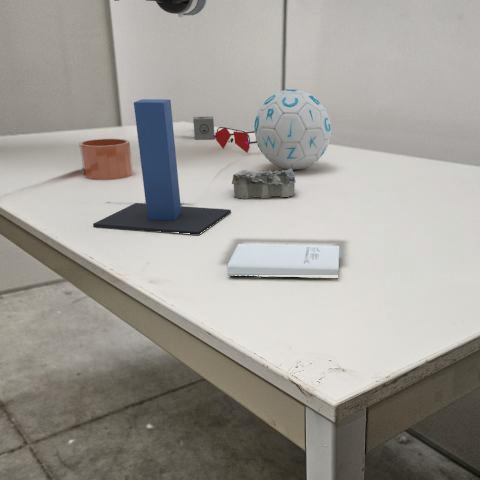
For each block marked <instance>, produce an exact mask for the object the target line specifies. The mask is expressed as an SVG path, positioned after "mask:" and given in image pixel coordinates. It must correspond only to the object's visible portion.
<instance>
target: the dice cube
mask: <svg viewBox="0 0 480 480" xmlns="http://www.w3.org/2000/svg"><path fill="white" fill-rule="evenodd" d="M192 120H193V135H194V140H195V141H196V140H197V141H198V140H216V138H213V135H215V124H214V123H215V122H214V116H212V115H211V116H208V115H207V116H193V117H192Z"/></svg>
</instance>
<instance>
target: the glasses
mask: <svg viewBox="0 0 480 480" xmlns="http://www.w3.org/2000/svg"><path fill="white" fill-rule="evenodd" d="M229 130H231V131H233V133H231V132H230V131H229ZM249 134H255V130H253V131H244V130H239V129H236V128H230V127H225V126H224V127H223V126H219V127H218V128H217V129H216V132H214V135H213V138H215V141H216V142H217V143H218V144H219V146H220V147H221V148H222V150H223V149H225V147H226V145H227V144H228V143H231V144H232V143H233V142H234V144H235V145H237V146H238V147H239V148H240V149H241V150H242V151H244V152H245V153H246V154H248V152H249V150H250V148H251V147H250V145H252V144H257V143H256V142H257V141H256V140H254V141H251V138H250V135H249ZM231 136H233V137H231Z"/></svg>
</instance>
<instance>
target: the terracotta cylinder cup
mask: <svg viewBox="0 0 480 480" xmlns="http://www.w3.org/2000/svg"><path fill="white" fill-rule="evenodd" d="M78 145H79V151H80V157H81V164H82V171H83V176H84V178H86V179H88V180H95V181H110V180H111V181H112V180H119V179H120V180H121V179H125V178H129V177H132V176H133V175H134V167H133V160H132V152H131V145H130V141H129V140H128V139H123V138H96V139H89V140H83V141H80V142H79V143H78Z"/></svg>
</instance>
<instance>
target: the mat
mask: <svg viewBox="0 0 480 480" xmlns="http://www.w3.org/2000/svg"><path fill="white" fill-rule="evenodd" d="M229 213H230V214H231V213H232V210H231V209H226V208H213V207H212V208H211V207H198V206H183V205H181V214H180V215H179V216H178V217H177V219H176V220H148V217H147V209H146V203H142V202H141V203H140V202H135V203H133V204H130V205H129V206H126V207H124V208H122V209H121V210H118V211H116V212H114V213H112V214H110V215H108V216H106V217H104V218H102V219H100V220H98V221H96V222H93V224H92V226H93V228H99V227H101V228H100V229H112V228H114V229H113V230H125V229H128V230H127V231H137V230H144V231H143V232H150V231H161V232H160V233H162V232H179V233H190V234H200V233H201V232H203V231H204V230H206V229H207V228H209V227H210V226H212V225H213V224H214V225H216V224H217V223H218V222H217V221H219V220H220V219H221V220H223V219H224V218H225V216H226V215H227V214H228V215H230V214H229ZM228 215H227V216H228ZM227 216H226V217H227ZM223 217H224V218H223ZM222 218H223V219H222ZM221 220H220V221H221ZM220 221H219V222H220ZM216 222H217V223H216ZM215 223H216V224H215ZM214 225H213V226H214ZM213 226H212V227H213ZM115 228H116V229H115ZM210 228H211V227H210ZM210 228H209V229H210ZM129 229H130V230H129ZM207 230H208V229H207ZM207 230H206V231H207ZM204 232H205V231H204ZM204 232H203V233H204ZM200 235H201V234H200Z"/></svg>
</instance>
